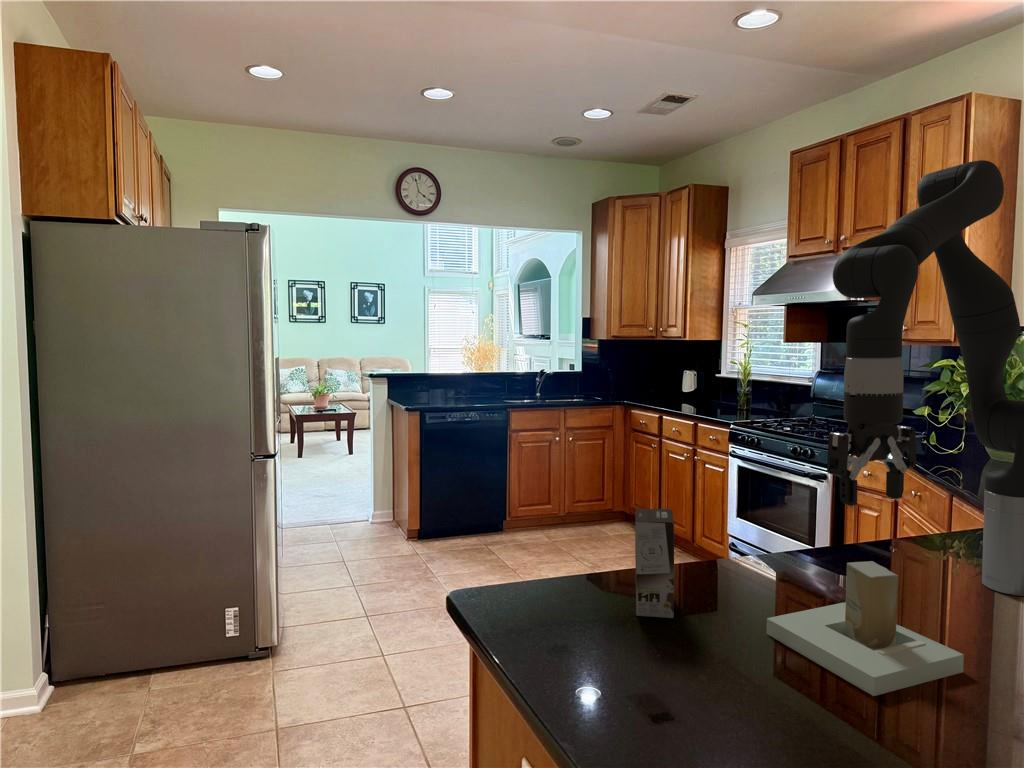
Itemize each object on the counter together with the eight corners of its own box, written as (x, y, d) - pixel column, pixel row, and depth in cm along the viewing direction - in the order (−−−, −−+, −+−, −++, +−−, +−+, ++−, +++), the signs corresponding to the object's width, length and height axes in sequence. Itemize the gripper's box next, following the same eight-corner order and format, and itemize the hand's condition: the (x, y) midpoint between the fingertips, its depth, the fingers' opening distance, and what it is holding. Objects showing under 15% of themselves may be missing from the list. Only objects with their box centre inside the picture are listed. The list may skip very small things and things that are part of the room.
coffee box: (675, 618, 115) (674, 522, 114) (635, 616, 116) (634, 521, 115) (673, 597, 124) (673, 508, 123) (636, 595, 125) (635, 507, 124)
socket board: (846, 616, 114) (847, 600, 114) (963, 672, 95) (963, 653, 95) (766, 633, 109) (766, 617, 108) (873, 696, 90) (873, 675, 90)
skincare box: (843, 640, 106) (844, 561, 105) (870, 638, 106) (871, 559, 105) (869, 660, 99) (870, 576, 98) (897, 658, 100) (899, 574, 99)
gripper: (888, 384, 106) (887, 490, 107) (813, 390, 101) (813, 501, 102) (933, 388, 99) (931, 501, 100) (855, 394, 94) (854, 513, 95)
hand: (871, 501), depth 101 cm, fingers open, 8 cm apart
